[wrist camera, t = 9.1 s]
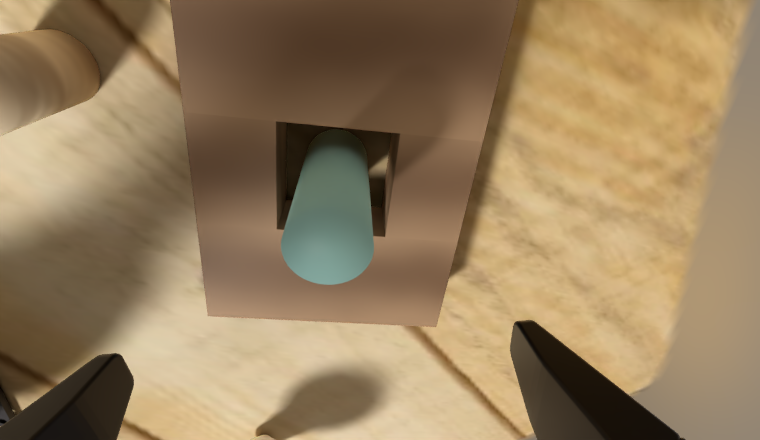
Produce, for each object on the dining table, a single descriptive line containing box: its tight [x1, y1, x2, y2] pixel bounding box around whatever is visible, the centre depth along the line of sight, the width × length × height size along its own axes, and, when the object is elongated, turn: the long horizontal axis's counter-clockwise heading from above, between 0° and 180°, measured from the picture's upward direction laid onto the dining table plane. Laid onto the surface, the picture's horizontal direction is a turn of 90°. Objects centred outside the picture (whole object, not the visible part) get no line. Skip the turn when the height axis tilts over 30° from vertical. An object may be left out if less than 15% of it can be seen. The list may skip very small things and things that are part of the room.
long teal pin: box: [281, 129, 374, 285], centre depth 16 cm, size 3×3×8 cm
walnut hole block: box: [170, 0, 519, 327], centre depth 19 cm, size 16×12×3 cm
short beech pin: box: [0, 29, 100, 136], centre depth 15 cm, size 3×3×5 cm
